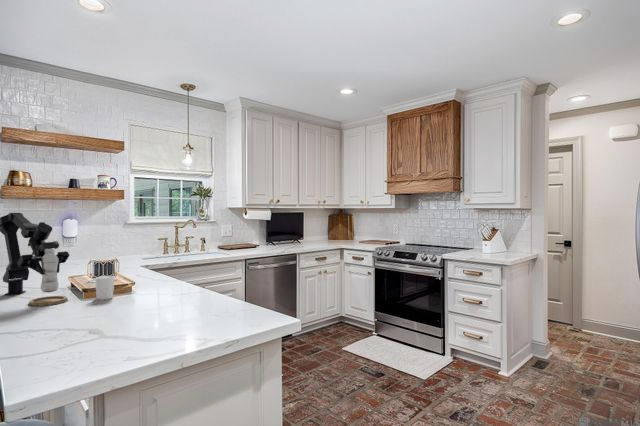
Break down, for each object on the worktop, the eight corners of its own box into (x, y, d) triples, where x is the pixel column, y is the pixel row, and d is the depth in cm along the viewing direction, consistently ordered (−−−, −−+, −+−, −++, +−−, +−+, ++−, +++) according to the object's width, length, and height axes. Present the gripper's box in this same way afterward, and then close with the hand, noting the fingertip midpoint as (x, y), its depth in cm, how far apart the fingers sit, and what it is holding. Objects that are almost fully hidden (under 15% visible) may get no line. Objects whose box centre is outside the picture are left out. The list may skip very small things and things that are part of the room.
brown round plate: (36, 299, 171) (36, 296, 171) (72, 297, 175) (72, 294, 175) (22, 307, 157) (22, 304, 157) (61, 305, 162) (61, 301, 162)
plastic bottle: (47, 290, 170) (46, 247, 169) (62, 290, 170) (61, 247, 169) (37, 293, 163) (36, 249, 163) (52, 293, 164) (52, 249, 163)
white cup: (91, 299, 173) (91, 278, 172) (105, 295, 180) (105, 275, 180) (104, 300, 170) (104, 279, 170) (118, 296, 178) (118, 276, 178)
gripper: (20, 236, 160) (32, 264, 155) (67, 234, 176) (79, 259, 171) (12, 253, 164) (23, 280, 159) (59, 249, 180) (70, 274, 175)
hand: (50, 273), depth 166 cm, fingers closed on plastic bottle, 6 cm apart
